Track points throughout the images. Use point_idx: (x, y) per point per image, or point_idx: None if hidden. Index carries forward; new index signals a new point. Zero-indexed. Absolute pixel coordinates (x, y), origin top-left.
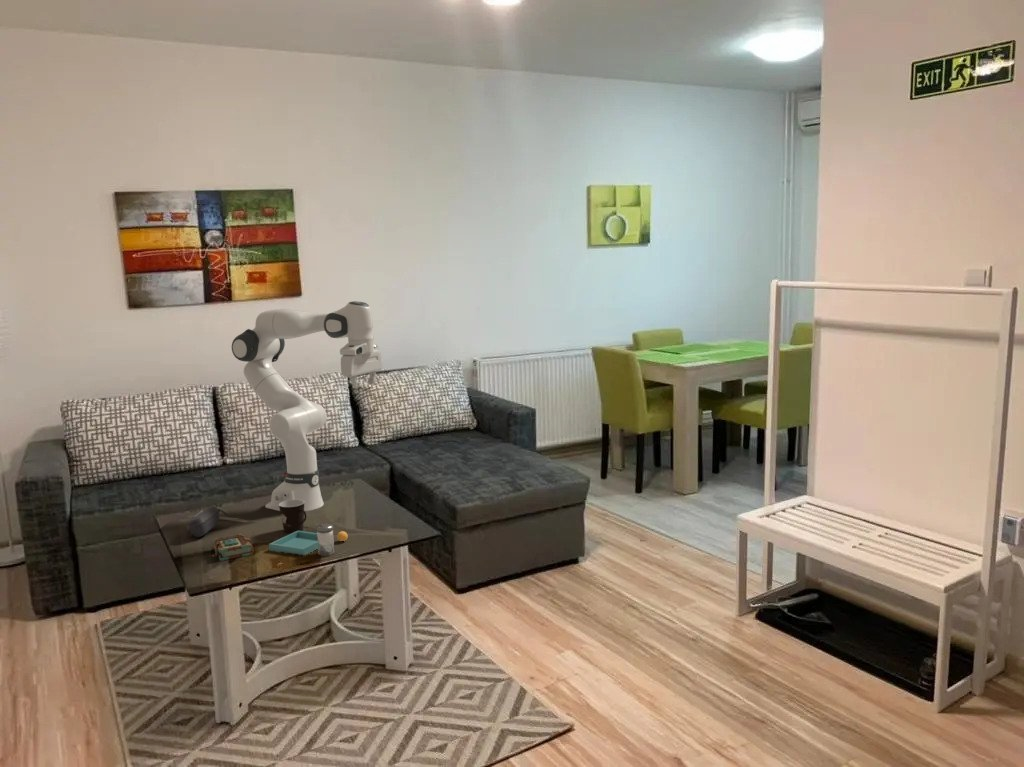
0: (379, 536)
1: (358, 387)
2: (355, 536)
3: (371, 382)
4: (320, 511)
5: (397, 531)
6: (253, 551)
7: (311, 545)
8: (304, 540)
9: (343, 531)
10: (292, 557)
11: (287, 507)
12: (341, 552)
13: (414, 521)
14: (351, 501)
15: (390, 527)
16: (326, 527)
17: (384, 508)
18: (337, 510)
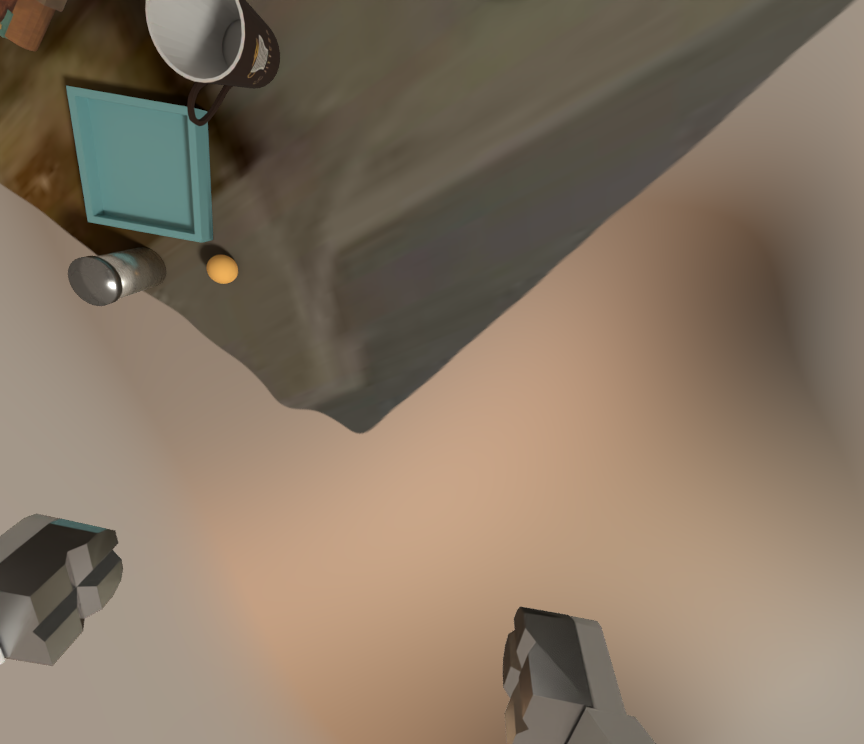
0: (295, 342)
1: (109, 582)
2: (275, 281)
3: (506, 681)
4: (462, 21)
5: (340, 370)
6: (34, 50)
7: (120, 227)
8: (177, 160)
9: (219, 274)
10: None
11: (152, 37)
12: (169, 299)
13: (422, 383)
14: (597, 86)
15: (363, 342)
16: (87, 292)
17: (523, 254)
18: (483, 90)
